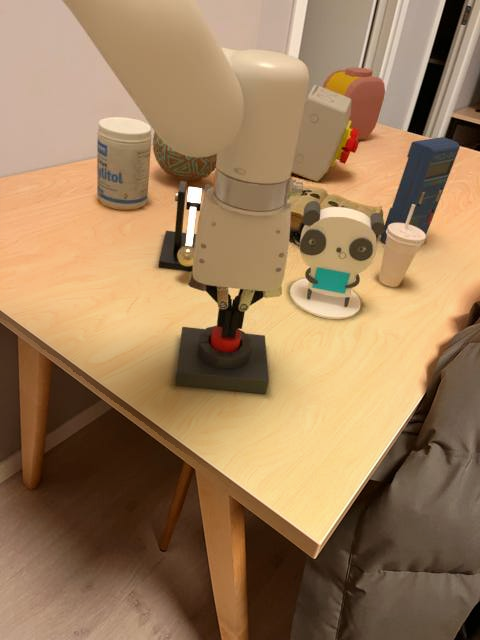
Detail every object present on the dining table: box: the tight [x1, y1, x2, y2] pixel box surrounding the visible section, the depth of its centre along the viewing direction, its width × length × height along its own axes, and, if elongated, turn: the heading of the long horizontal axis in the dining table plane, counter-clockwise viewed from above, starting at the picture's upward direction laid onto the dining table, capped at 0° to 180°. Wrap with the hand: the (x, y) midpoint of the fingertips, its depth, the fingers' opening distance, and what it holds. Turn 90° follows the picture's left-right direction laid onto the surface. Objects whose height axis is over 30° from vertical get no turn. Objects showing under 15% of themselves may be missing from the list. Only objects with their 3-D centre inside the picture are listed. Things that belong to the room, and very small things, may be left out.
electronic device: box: [380, 136, 461, 244], centre depth 101 cm, size 10×5×20 cm, turn 129°
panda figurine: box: [289, 201, 385, 320], centre depth 80 cm, size 12×11×15 cm
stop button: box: [211, 324, 242, 352], centre depth 65 cm, size 4×4×2 cm
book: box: [288, 185, 384, 246], centre depth 103 cm, size 25×17×6 cm
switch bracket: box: [158, 180, 213, 272], centre depth 86 cm, size 11×9×12 cm
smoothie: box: [378, 204, 427, 288], centre depth 88 cm, size 6×6×14 cm
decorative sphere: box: [152, 131, 217, 182], centre depth 112 cm, size 15×15×15 cm
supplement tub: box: [96, 116, 152, 211], centre depth 99 cm, size 10×10×15 cm
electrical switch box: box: [291, 84, 360, 183], centre depth 128 cm, size 15×15×20 cm
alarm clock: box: [322, 67, 386, 141], centre depth 158 cm, size 18×11×19 cm, turn 130°
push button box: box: [174, 325, 270, 395], centre depth 66 cm, size 11×9×4 cm
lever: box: [177, 186, 203, 266], centre depth 82 cm, size 13×3×3 cm
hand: (228, 330), depth 64 cm, fingers closed
